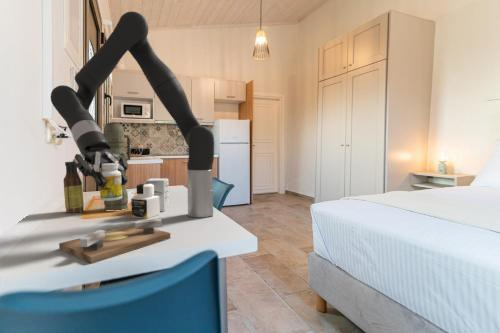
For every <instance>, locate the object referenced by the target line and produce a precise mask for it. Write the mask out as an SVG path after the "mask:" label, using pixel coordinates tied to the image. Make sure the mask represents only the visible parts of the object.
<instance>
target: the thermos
mask: <svg viewBox="0 0 500 333" xmlns="http://www.w3.org/2000/svg"><path fill="white" fill-rule="evenodd" d="M103 134H104V136H105V138H106V140H107V141H108V143H109V145H110V149H111V151H112V152H114V153H115V154H118V155H120V154H121V153H124V154H125V157H126V160H127V161H131V156H132V155H131V137H130V136H129V135H127V134H125V130H124V127H123V124H121V123H119V122H108V123H105V125H104V128H103ZM125 138H126V144H127V145H126V146H127V148H125ZM125 149H127V151H126V150H125ZM126 173H127V172H126ZM126 173H125V174H126ZM126 175H127V174H126ZM128 194H129V193H128V191H127V184H126V185H122V199H119V200H113V201H103V204H104V211H105V210H122V209H126V208H129V207H128V203H129V196H128ZM126 210H127V209H126Z"/></svg>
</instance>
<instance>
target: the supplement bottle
mask: <svg viewBox="0 0 500 333" xmlns="http://www.w3.org/2000/svg"><path fill="white" fill-rule="evenodd" d="M101 169H102V171H101V174H102V175H103V177H104V179H105V181H106V184H105V186H104V187H103V188H100V187H99V193H100V194H99V195H100V196H99V197H100V200H101V201H103V202H104V201H113V200H119V199H122V177H121V172H120V171H117V169H118V164H116V163H110V164H102V168H101Z"/></svg>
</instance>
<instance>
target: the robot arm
mask: <svg viewBox="0 0 500 333" xmlns="http://www.w3.org/2000/svg"><path fill="white" fill-rule="evenodd" d="M148 24H149V23H148V21H147V19H146V18H145V16H143V15H142V14H141V13H139V12H137V11H127V12H125V13H123V14H122V15H121V16H120V18H119V19H118V21H117V23H116V25H115V27H114V29H113V31H112V32H111V33H110V35H109V36H108V38H107V39H106V40H105V42H104V43H103V44H102V46H101V47H100V48H99V49H98V50H97V51H96V52H95V53H94V54H93V55H92V57H91V58H89V60H88V61H87V62H86V63H85V64H84V65H83V66H82V67H81V69H80V70H79V71H78V72H77V73H76V75H75V76H74V81H75V82H76V85H77V91H76V90H75V89H73V88H72V87H70V86H68V85H58V86H56V87H54V88H53V89H52V90H51V92H50V101H51V104H52V106H53V107H54V109H55V110H56V111H57V113H58V114H59V115H60V116H61V117H62V118H63V120H64V121H65V122H66V125H67V127H68V129H69V130H70V133H71V135H72V139H73V140H74V142H75V144H76V146H77V148H78V150H79V152H80V154H79V153H76V154H75V156H74V158H73V160H72V162H73V163H74V164H75V165H76V167H77V170H78V171H79V172H80V173H81V175H82V176H83V177H85V178H87V177H91V178H92V179H93V180H94V183H96V185H97V187H99V189H100V188H103V187H104V186H105V184H106V181H105V179H104V177H103V175H102V174H101V172H102V171H101V172H100V169H102V164H110V163H116V164H118V169H117V171H120V172H121V177H122V185H126V186H127V183H128V180H129V177H128V176H127V174H125V173H127V171H128V169H129V162H128V160H126V157H127V156H126V157H125V154H124V153H121V154H120V155H118V154H115V153H114V152H112V151H111V149H110V145H109V143H108V141H107V140H106V138H105V136H104V132H103V131H102V129H101V128H100V126H99V125H98V124H97V122H96V121H95V119H94V117H93V116H92V114H91V113H90V112H89V109H90V107H91V105H92V102H93V101H94V98H95V97H96V94H97V92H98V90H99V88H101V86H103V84H104V83H105V82H106V80H108V78H109V76H110V75H111V74H112V72H113V71H114V70H115V68H116V66H118V64H119V62H120V61H121V59H122V58H123V57H124V56H125V54H126V53H127V52H129V54H130V55H131V56H132V57H133V59H134V60H135V61H136V63H137V64H138V66H139V67H140V70H141V71H142V73H143V75H144V77H145V79H146V80H147V82H148V83H149V85H150V86H151V89H152V90H153V92H154V93H155V95H156V96H157V98H158V100H159V101H160V103H161V104H162V105H163V107H164V108H165V109H166V111H167V113H168V114H169V115H170V117H171V118H172V119H173V120H174V122H175V123H176V125H177V127H178V129H179V131H180V133H181V135H182V136H183V139H184V141H185V143H186V146H188V160H187V164H186V167H187V170H186V171H187V216H188V217H190V218H207V217H213V216H214V189H213V187H214V186H213V164H214V160H215V159H214V158H215V137H214V133H213V132H212V130H211V129H210V128H209V127H207V126H205V125H202V124H201V123H200V122H199V121H198V119H197V117H195V114H194V113H193V111H192V109H191V105H190V103H189V100H188V97H187V94H186V92H185V90H184V88H183V86H182V84H181V83H180V81H179V79H178V78H177V76H176V74H175V73H174V72H173V71H172V70H171V68H170V67H168V65H167V64H165V63H164V62H163V61H162V60H161V59H160V57H159V56H158V55H157V53H155V50H154V49H153V47H152V46H151V44H150V41H149V38H148V35H149V25H148Z"/></svg>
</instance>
